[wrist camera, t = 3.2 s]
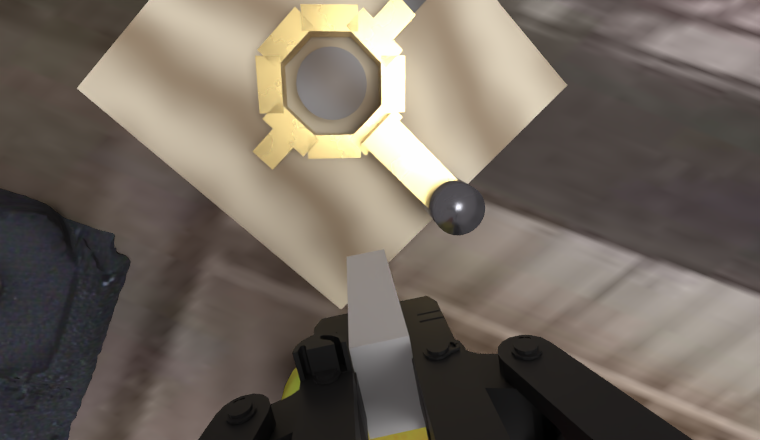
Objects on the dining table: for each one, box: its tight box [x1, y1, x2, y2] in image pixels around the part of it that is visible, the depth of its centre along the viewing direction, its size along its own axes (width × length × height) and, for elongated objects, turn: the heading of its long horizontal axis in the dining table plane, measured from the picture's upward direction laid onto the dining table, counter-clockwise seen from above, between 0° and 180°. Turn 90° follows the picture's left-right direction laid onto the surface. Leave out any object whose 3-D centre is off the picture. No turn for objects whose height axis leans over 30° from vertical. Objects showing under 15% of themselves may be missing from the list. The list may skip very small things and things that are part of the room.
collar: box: [252, 0, 485, 235], centre depth 25 cm, size 12×16×5 cm
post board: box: [77, 0, 567, 309], centre depth 27 cm, size 22×22×5 cm
